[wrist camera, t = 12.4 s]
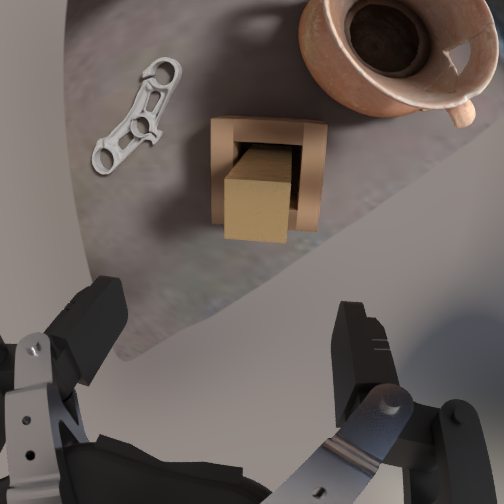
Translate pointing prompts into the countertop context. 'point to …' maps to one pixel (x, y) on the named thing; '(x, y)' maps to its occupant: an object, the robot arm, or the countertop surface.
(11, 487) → the robot arm
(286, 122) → the walnut block
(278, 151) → the tan wooden square peg
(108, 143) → the bracket
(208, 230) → the countertop surface
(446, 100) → the ceramic jug
